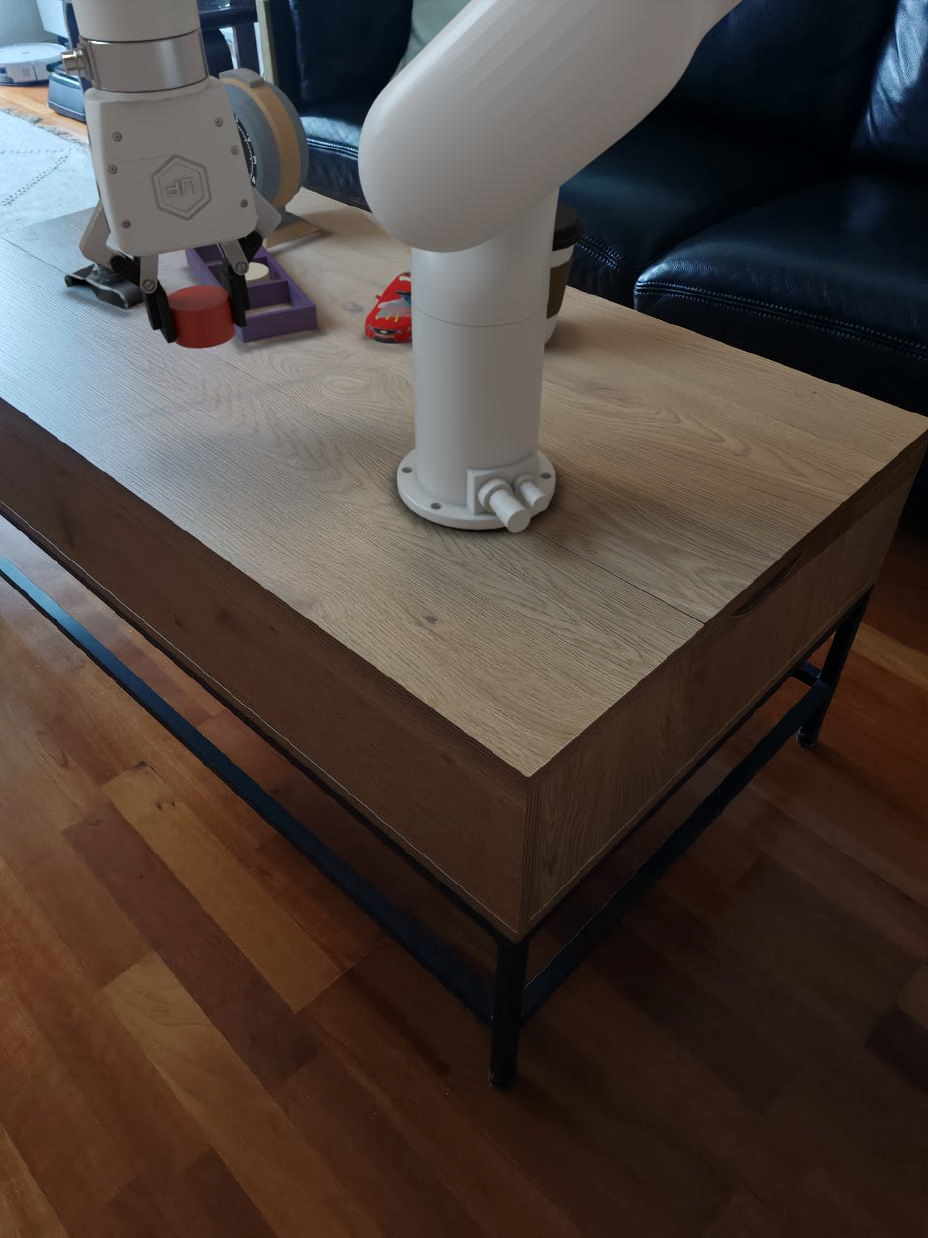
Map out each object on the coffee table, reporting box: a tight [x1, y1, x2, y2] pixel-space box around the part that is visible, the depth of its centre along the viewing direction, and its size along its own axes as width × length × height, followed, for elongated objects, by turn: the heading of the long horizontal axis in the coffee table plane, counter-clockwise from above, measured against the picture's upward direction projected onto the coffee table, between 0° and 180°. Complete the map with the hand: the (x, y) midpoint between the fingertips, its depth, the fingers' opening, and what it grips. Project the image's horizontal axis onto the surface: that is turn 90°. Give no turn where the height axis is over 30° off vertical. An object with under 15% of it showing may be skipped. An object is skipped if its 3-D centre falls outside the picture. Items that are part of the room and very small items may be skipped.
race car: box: [364, 270, 412, 344], centre depth 99 cm, size 13×5×4 cm, turn 161°
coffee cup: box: [545, 200, 585, 344], centre depth 94 cm, size 11×11×12 cm
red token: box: [167, 284, 237, 350], centre depth 75 cm, size 5×5×3 cm
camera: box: [63, 262, 145, 310], centre depth 103 cm, size 5×10×4 cm, turn 53°
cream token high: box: [245, 262, 271, 285], centre depth 102 cm, size 5×5×1 cm
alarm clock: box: [218, 67, 320, 250], centre depth 112 cm, size 14×10×18 cm
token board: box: [184, 244, 319, 344], centre depth 103 cm, size 22×8×3 cm, turn 26°
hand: (202, 325), depth 75 cm, fingers closed on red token, 4 cm apart
